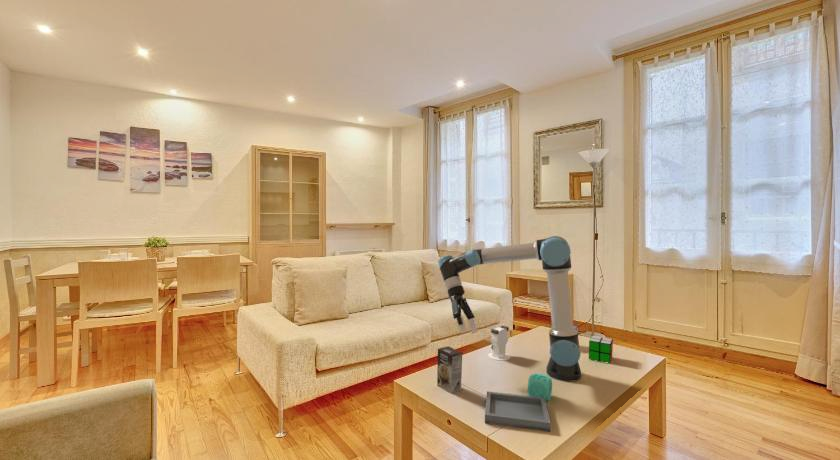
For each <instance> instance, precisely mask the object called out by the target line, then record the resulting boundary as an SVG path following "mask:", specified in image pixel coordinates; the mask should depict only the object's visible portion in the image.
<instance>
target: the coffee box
mask: <svg viewBox="0 0 840 460" xmlns="http://www.w3.org/2000/svg"><path fill="white" fill-rule="evenodd" d="M462 368H463V352H462V351H460V350H458V349H455V348H453V347H452V346H451V347H450V346H449V345H448V346H442V347H440V348H437V372H436V373H437V375H436V376H437V377H436V381H437V385H436V386H437V387H439V388H441V389H443V390H444V391H446V392H448V393H450V394H452V393H456V392H458V391H461V390H462V376H463V375H462V373H463V372H462V370H463V369H462Z"/></svg>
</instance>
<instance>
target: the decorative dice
mask: <svg viewBox="0 0 840 460" xmlns="http://www.w3.org/2000/svg"><path fill="white" fill-rule="evenodd" d="M552 391H553V380H552V379H551V376H548V374H547V375H546V374H543V373H535V372H534V373H532V374H531V375H529V378H528V383H527V394H528V396H533V397H542V398H545V402H547V401H549V400H551V397H552Z"/></svg>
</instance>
